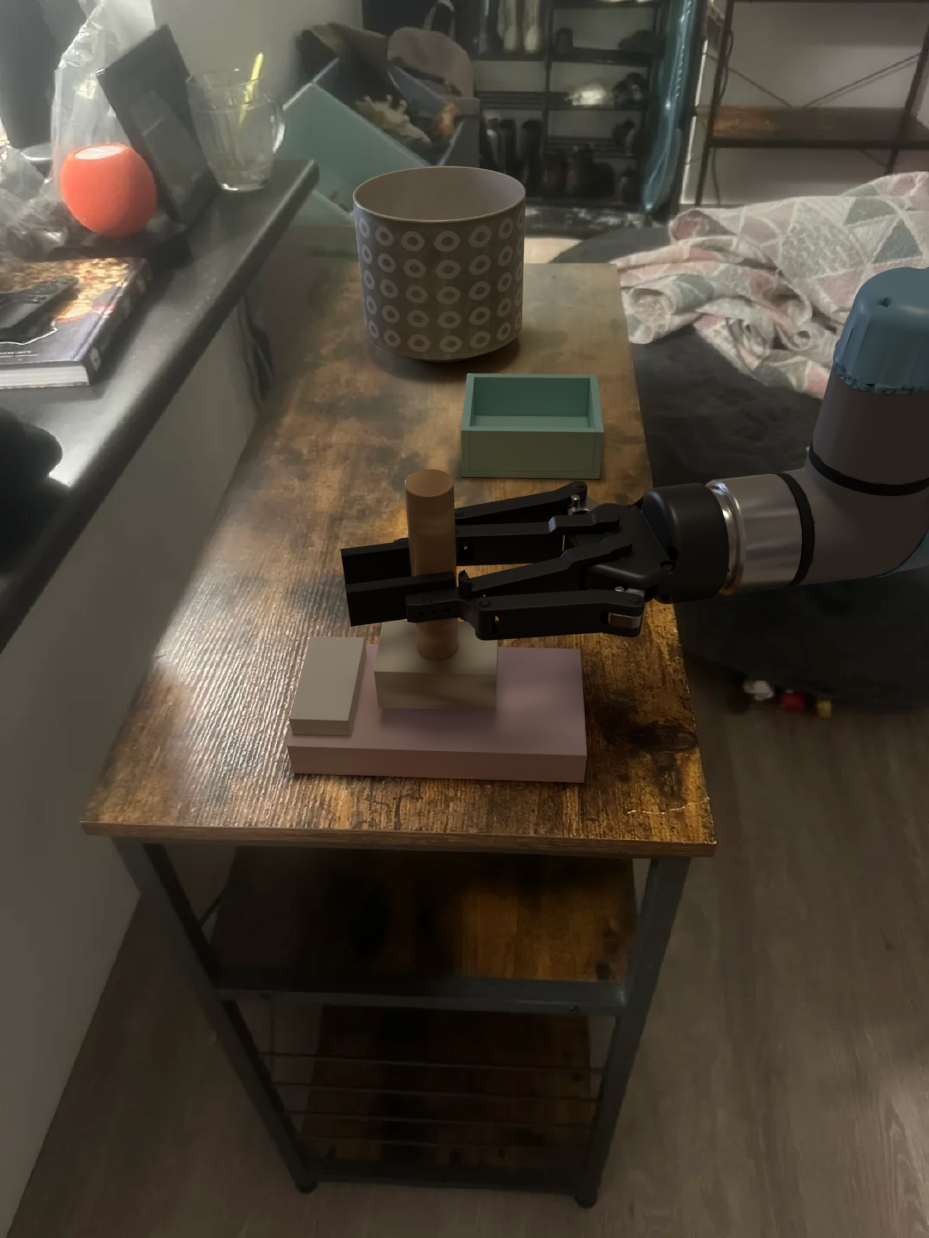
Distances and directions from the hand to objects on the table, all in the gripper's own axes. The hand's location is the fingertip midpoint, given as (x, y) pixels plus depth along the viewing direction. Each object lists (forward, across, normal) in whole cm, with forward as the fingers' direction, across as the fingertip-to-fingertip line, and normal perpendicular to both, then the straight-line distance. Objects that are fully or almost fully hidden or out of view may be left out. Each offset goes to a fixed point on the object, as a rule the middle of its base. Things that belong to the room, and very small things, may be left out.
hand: (346, 587), depth 54 cm
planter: (-16, +60, -14) cm, 64 cm away
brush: (-5, 0, -10) cm, 11 cm away
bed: (-5, 0, -14) cm, 15 cm away
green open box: (-21, +35, -14) cm, 43 cm away
